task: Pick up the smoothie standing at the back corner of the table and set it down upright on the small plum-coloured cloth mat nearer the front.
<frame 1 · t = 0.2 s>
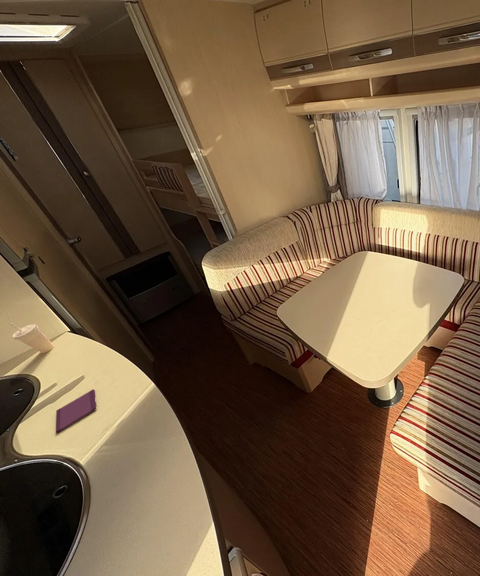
smoothie: (48, 349, 111), on the worktop
towel mat: (77, 410, 86), on the worktop
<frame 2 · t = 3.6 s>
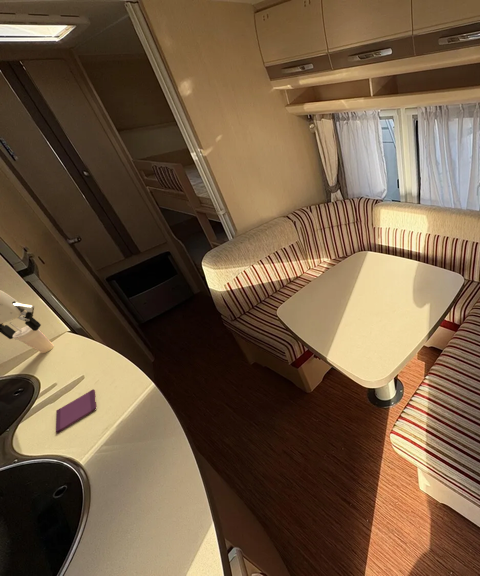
hand: (25, 331, 105), 9 cm above the worktop, tool pointing down, fingers closed on smoothie, 6 cm apart
smoothie: (48, 349, 111), on the worktop, touching gripper
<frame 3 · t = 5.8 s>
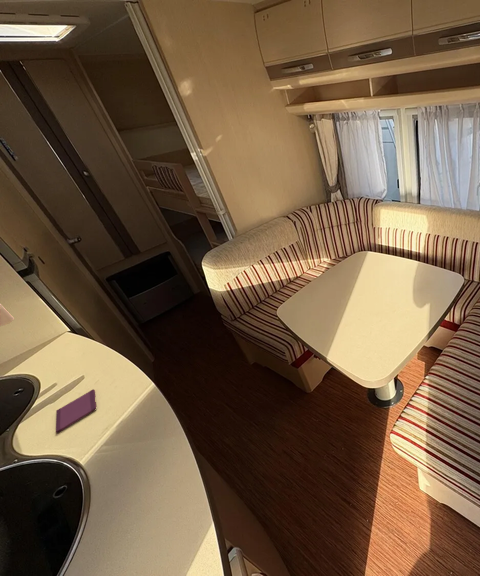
smoothie: (7, 322, 98), point 16 cm above the worktop, touching gripper
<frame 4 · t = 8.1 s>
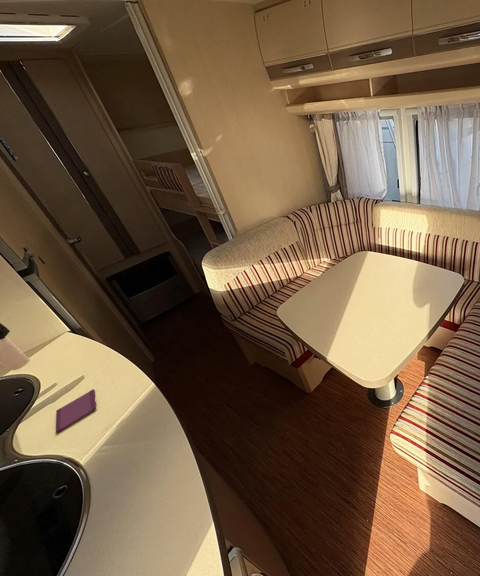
smoothie: (21, 364, 79), point 16 cm above the worktop, touching gripper
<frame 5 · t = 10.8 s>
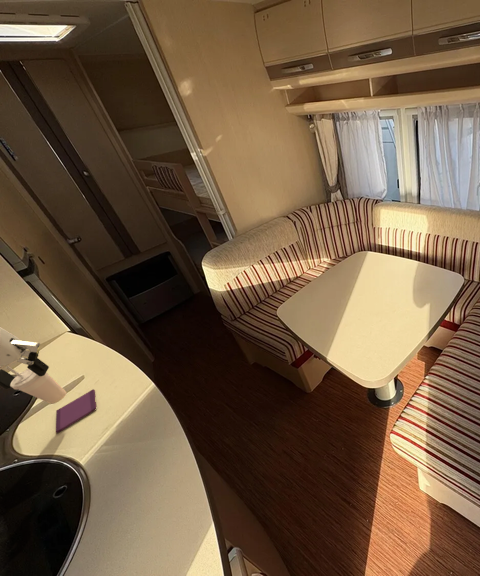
hand: (28, 377, 76), 16 cm above the worktop, tool pointing down, fingers closed on smoothie, 6 cm apart
smoothie: (58, 397, 82), point 6 cm above the worktop, touching gripper
when the fingers open (10 cm above the worktop, at t = 12.7 s): smoothie stays where it is, resting on towel mat.
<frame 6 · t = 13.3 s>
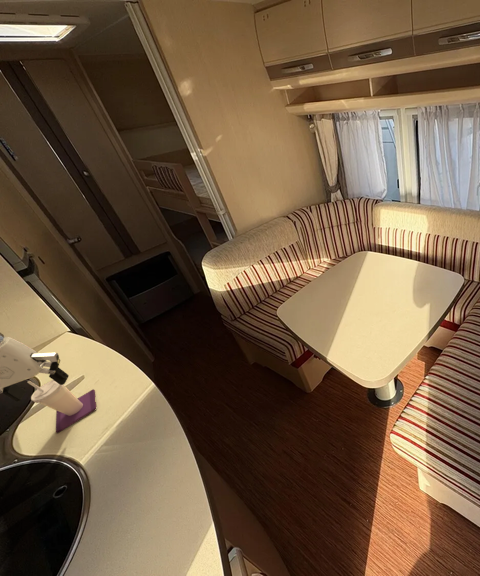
hand: (44, 388, 79), 11 cm above the worktop, tool pointing down, fingers open, 9 cm apart
smoothie: (75, 409, 85), resting on towel mat
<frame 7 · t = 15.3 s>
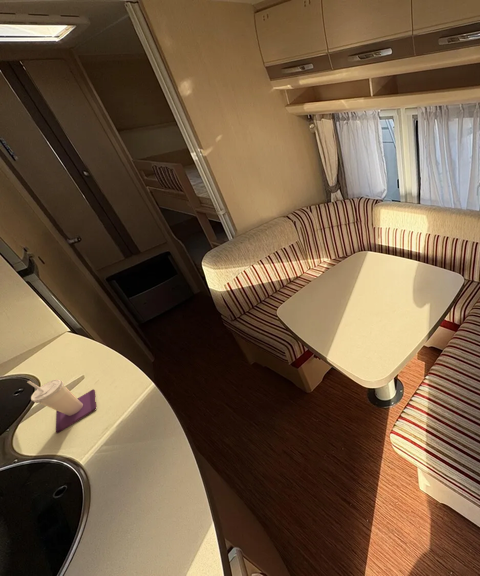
nothing on the worktop moved.
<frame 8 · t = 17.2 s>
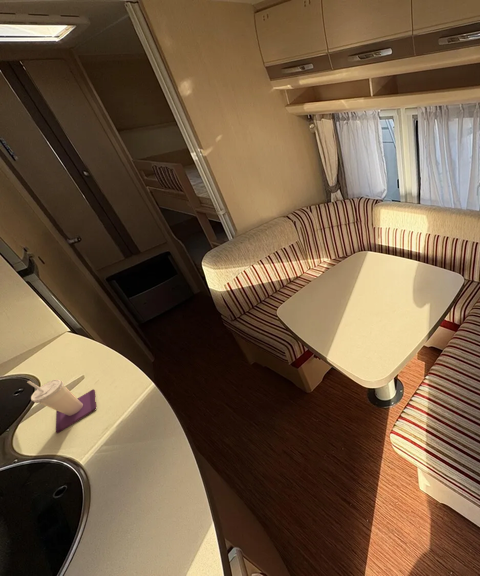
nothing on the worktop moved.
at the end: smoothie 0.1 cm off-centre on the towel mat, point 0.4 cm above the towel mat's base; smoothie tilted 0°; the gripper is holding nothing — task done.
